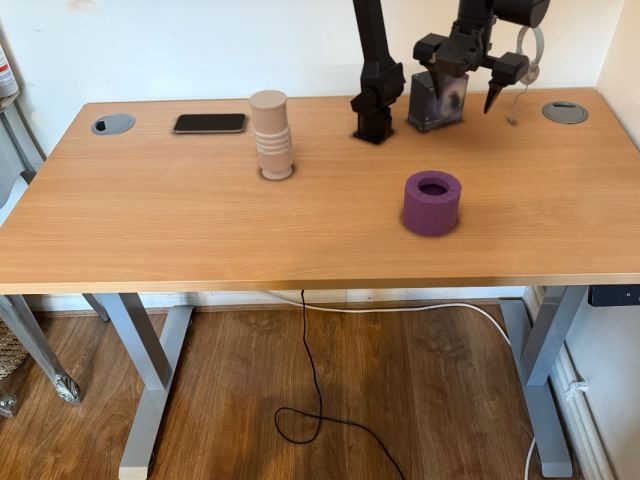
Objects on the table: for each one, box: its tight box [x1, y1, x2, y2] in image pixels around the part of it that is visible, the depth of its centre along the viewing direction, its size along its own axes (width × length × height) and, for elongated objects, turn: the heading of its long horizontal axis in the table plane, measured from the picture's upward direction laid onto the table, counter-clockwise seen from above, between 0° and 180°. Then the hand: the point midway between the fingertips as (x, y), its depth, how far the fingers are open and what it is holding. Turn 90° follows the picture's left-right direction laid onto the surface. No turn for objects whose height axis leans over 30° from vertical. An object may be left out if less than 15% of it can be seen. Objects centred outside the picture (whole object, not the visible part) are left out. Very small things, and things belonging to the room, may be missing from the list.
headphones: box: [508, 25, 545, 124], centre depth 108 cm, size 8×4×20 cm, turn 13°
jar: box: [402, 169, 463, 237], centre depth 91 cm, size 9×9×7 cm
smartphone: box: [173, 112, 247, 134], centre depth 118 cm, size 7×1×15 cm
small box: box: [406, 70, 470, 133], centre depth 113 cm, size 11×6×10 cm, turn 118°
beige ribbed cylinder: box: [248, 89, 294, 180], centre depth 100 cm, size 7×7×15 cm
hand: (461, 106), depth 95 cm, fingers open, 9 cm apart
